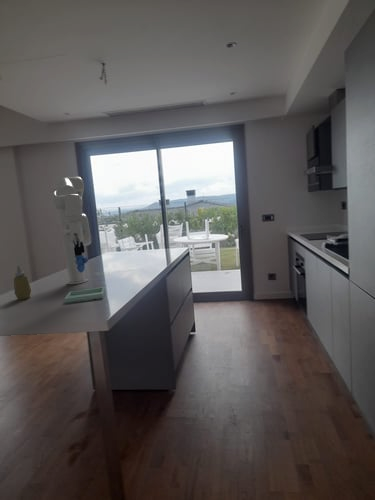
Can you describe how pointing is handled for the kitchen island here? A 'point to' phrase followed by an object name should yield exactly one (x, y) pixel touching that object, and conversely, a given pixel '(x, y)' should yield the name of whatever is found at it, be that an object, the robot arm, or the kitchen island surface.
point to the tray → (85, 295)
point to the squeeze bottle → (21, 285)
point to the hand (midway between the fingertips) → (80, 253)
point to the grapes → (80, 262)
